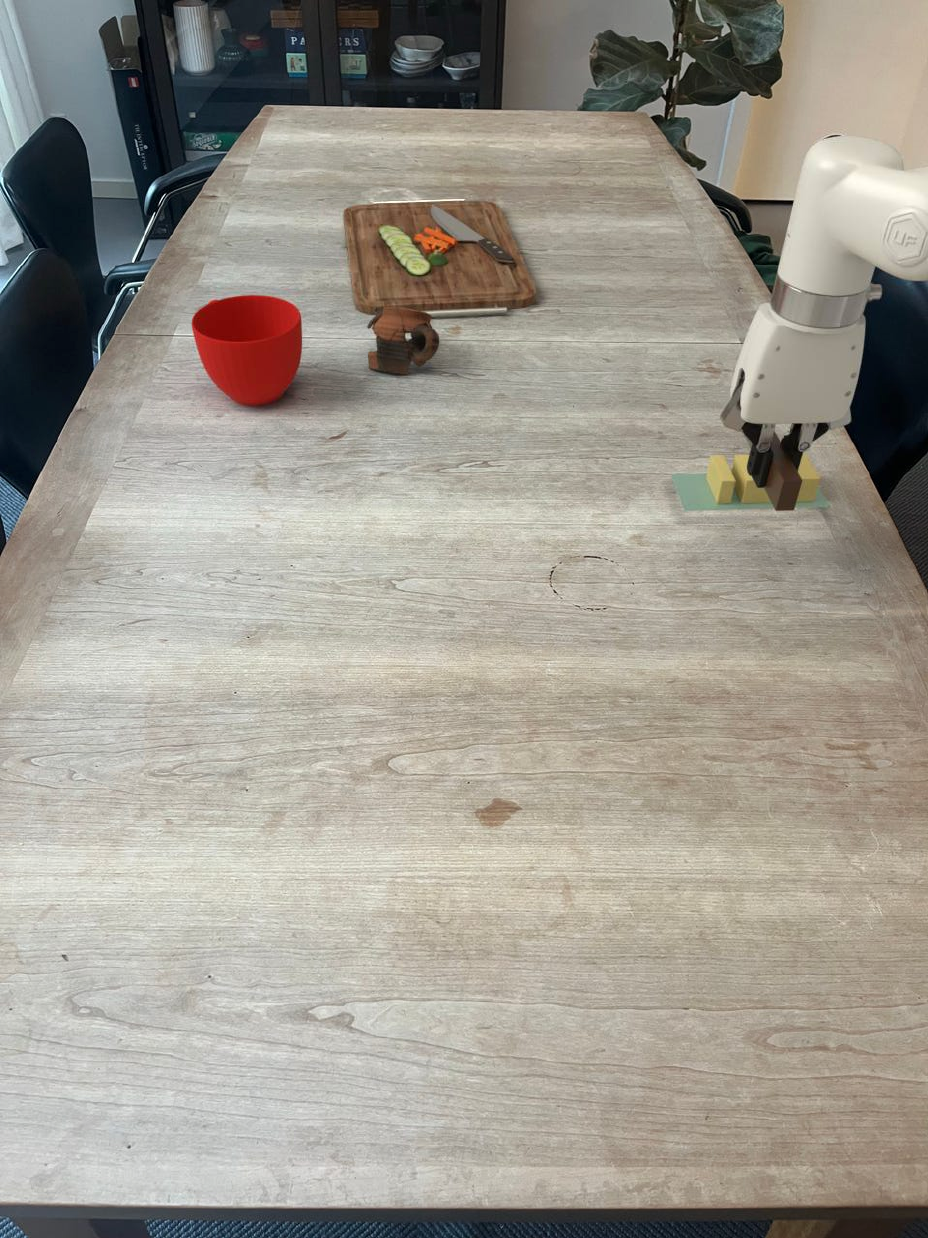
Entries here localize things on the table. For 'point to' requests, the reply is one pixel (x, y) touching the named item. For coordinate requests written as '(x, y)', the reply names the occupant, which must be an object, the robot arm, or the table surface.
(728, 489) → the butter slice
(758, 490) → the butter block
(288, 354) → the ceramic cup
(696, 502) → the butter dish
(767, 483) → the knife
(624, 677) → the table surface
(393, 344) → the pottery mug
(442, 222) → the chopping board
